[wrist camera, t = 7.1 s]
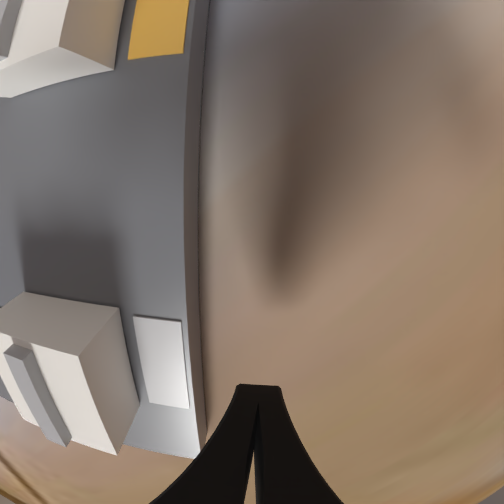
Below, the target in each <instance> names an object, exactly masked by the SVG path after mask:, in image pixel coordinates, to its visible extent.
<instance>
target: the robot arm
mask: <svg viewBox="0 0 504 504" xmlns="http://www.w3.org/2000/svg"><path fill="white" fill-rule="evenodd" d="M253 452H254V465H255V489H256V504H344V503H343V502H342V501H341V500H340V499H339V498H338V497H337V495H336V494H335V493H334V492H333V490H332V489H331V488H330V487H329V485H328V484H327V483H326V481H325V480H324V478H323V477H322V476H321V474H320V473H319V471H318V470H317V468H316V467H315V465H314V463H313V462H312V460H311V458H310V457H309V455H308V453H307V452H306V450H305V448H304V446H303V444H302V442H301V440H300V438H299V436H298V434H297V432H296V430H295V428H294V426H293V423H292V421H291V419H290V416H289V414H288V411H287V408H286V405H285V402H284V399H283V395H282V391H281V388H280V387H279V386H268V385H251V384H239V385H237V386H236V389H235V393H234V395H233V398H232V400H231V402H230V405H229V407H228V409H227V411H226V412H225V414H224V416H223V418H222V420H221V421H220V423H219V425H218V426H217V428H216V430H215V431H214V433H213V434H212V436H211V437H210V439H209V440H208V442H207V443H206V444H205V446H204V447H203V449H202V450H201V451H200V453H199V454H198V455H197V457H196V458H195V459H194V460H193V461H192V463H191V464H190V465H189V466H188V467H187V468H186V469H185V471H184V472H183V473H182V474H181V475H180V476H179V477H178V478H177V479H176V480H175V481H174V482H173V483H172V484H171V485H170V486H169V487H168V488H167V489H166V490H165V491H164V492H162V493H161V494H160V495H159V496H158V497H157V498H155V499H154V500H153V501H152V502H150V503H149V504H244V500H245V495H246V490H247V484H248V479H249V474H250V468H251V463H252V457H253Z"/></svg>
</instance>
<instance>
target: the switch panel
mask: <svg viewBox="0 0 504 504" xmlns="http://www.w3.org/2000/svg"><path fill="white" fill-rule="evenodd" d="M209 3H210V0H125V2H124V7H123V12H122V18H121V23H120V29H119V35H118V42H117V49H116V56H115V64H114V70H111V71H106V72H101V73H96V74H91V75H87V76H82V77H78V78H74V79H70V80H66V81H62V82H59V83H55V84H51V85H48V86H45V87H41V88H38V89H35V90H32V91H29V92H26V93H23V94H20V95H17V96H14V97H12V98H7V97H0V308H1V307H3V306H4V305H6V304H7V303H8V302H10V301H11V300H12V299H14V298H15V297H17V296H18V295H19V294H21V293H22V292H28V293H33V294H39V295H44V296H49V297H55V298H60V299H66V300H72V301H78V302H84V303H90V304H97V305H104V306H110V307H117V308H119V310H120V316H121V322H122V328H123V333H124V338H125V343H126V348H127V353H128V358H129V362H130V367H131V371H132V376H133V380H134V384H135V388H136V392H137V396H138V399H139V403H140V406H139V409H138V411H137V413H136V415H135V417H134V420H133V422H132V424H131V426H130V428H129V431H128V433H127V435H126V437H125V440H124V442H123V444H125V445H129V446H133V447H137V448H141V449H145V450H150V451H154V452H159V453H164V454H169V455H174V456H180V457H186V458H193V459H195V458H196V457H197V455H198V454H199V453H200V451H201V450H202V449H203V447H204V445H205V441H206V436H207V424H206V413H205V400H204V387H203V372H202V355H201V335H200V310H199V275H198V178H199V143H200V119H201V100H202V83H203V69H204V56H205V44H206V33H207V22H208V12H209ZM0 396H1V397H3V398H5V399H7V400H9V401H11V402H13V400H12V398H11V396H10V394H9V392H8V390H7V388H6V386H5V384H4V382H3V380H2V378H1V376H0ZM13 403H14V402H13Z"/></svg>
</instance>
